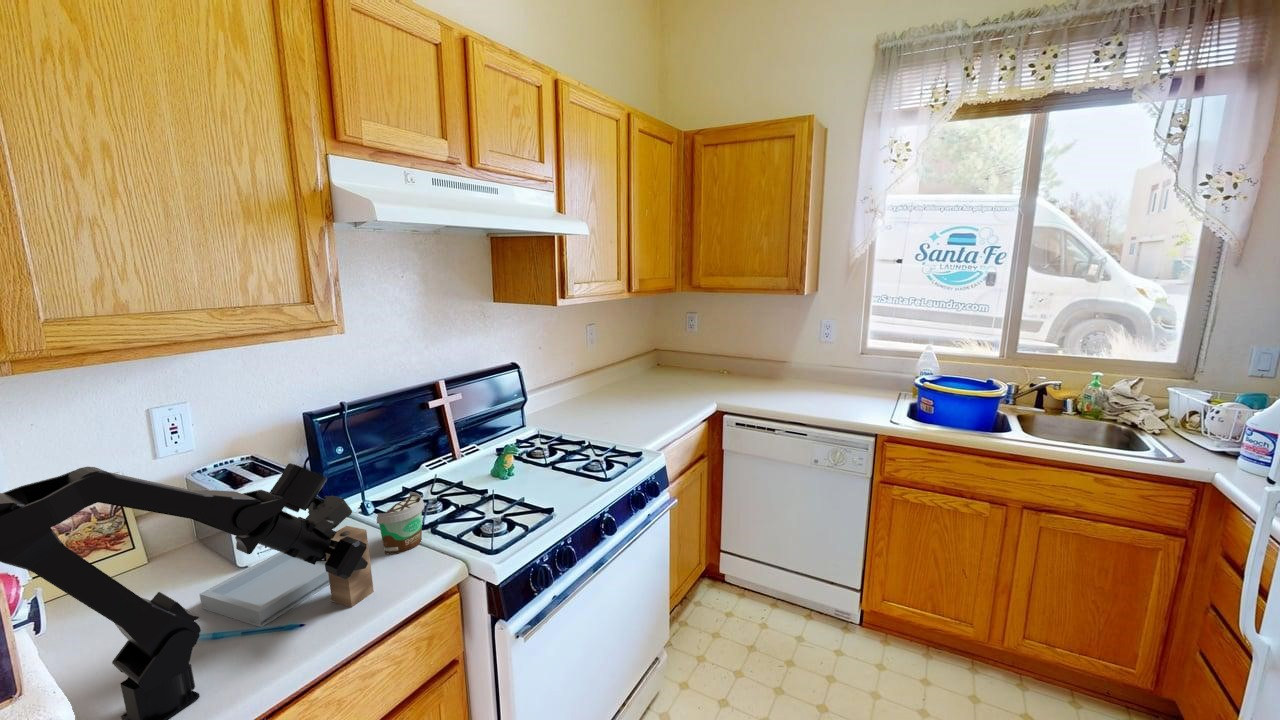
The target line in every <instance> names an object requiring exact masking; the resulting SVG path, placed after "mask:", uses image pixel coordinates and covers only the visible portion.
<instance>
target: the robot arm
mask: <svg viewBox="0 0 1280 720" xmlns="http://www.w3.org/2000/svg"><path fill="white" fill-rule="evenodd" d="M327 481H328V478H327V477H326V476H324V475H322V474H320V473H319V472H315V471H312V470H309V469H306V468H303V467H301V466H299V465H298V464H294V463H291V462H290V463H288V464H286V466H285V468H284V469H283V472H282V474H281V475H280V477H279V478H278V479H277V481H276V482H275V484H274V485H273V487H272V488H271V490H270V491H266V490H263V489H256V490H252V491H248V492H243V493H241V492H238V491H233V490H231V491H230V490H214V489H212V490H191V489H187V488H182V487H180V486H179V487H178V486H174V485H169V484H165V483H160V482H155V481H151V480H145V479H141V478H137V477H133V476H132V477H131V476H128V475H123V474H118V473H115V472H110V471H107V470H104V469H102V468H98V467H95V466H83V467H80V468H77V469H75V470H71V471H69V472H66V473H64V474H61V475H58V476H55V477H51V478H47V479H46V478H45V479H42V480H40V481H39V480H38V481H35V482H32V483H28V484H24V485H21V486H18V487H15V488H13V489H10V490H7V491H3V492H0V563H3V564H6V565H9V566H13V567H16V568H20V569H22V570H26V571H30V572H31V573H33V574H35V575H36V576H38V577H40V578H41V579H43V580H45V581H46V582H48V583H50V584H51V585H52V586H55V587H56V588H57V589H59V590H61V591H62V592H64V593H66V594H67V595H69V596H70V597H72V598H74V599H75V600H77V601H79V602H80V603H82V604H83V605H85V606H87V607H88V608H89V609H92V610H93V611H95V612H96V613H98V614H99V615H101V616H103V617H105V618H106V619H107V620H110V622H112V623H113V624H114V625H115V626H116V628H117V629H118V630H119V631H120V633H121V634H122V635H123V636H124V637H125V638H126V639H127V641H126V642H125V644H124V645H123V646H122V647H121V648H120V650H119V652H118V653H117V654H116V656H115V657H114V658H113V660H112V662H111V664H112V665H113V666H114V667H116V668H117V670H118V671H120V672H121V673H123V674H124V675H126V676H127V678H126V679H125V680H123V681H121V682H120V688H121V693H122V697H123V702H124V707H125V710H126V711H125V712H124V713H123V714H122V715H120V719H121V720H169V719H170V718H172V717H173V716H175V715H176V714H178V713H179V712H181V711H182V710H184V709H185V708H186V707H189V705H192V703H194V702H195V701H197V700H198V699H200V693H199V692H197V691H194V690H195V688H196V684H195V683H196V682H195V678H194V673H193V668H192V667H193V666H192V664H191V663H190V661H191V657H192V653H193V650H194V647H195V645H197V643H198V641H199V638H200V635H201V632H202V629H201V626H200V625H199V624H198V623H197V622H196V620H198V619H200V617H199V615H197V614H195V613H193V612H192V611H190V610H188V609H187V608H186V607H184V606H182V605H181V604H180V603H179V602H178V601H176V600H175V599H173V598H171V597H169V596H168V595H166V594H165V593H163V592H161V591H158V592H157V593H156V594H155V595H154V596H153V598H152V599H150V600H149V599H147V598H144V597H141V596H139V595H137V594H136V593H135V592H133V591H132V590H130V589H129V588H127V587H126V586H124V585H123V584H122V583H120V582H119V581H117V580H116V579H114V578H113V577H111V576H110V575H108V574H107V573H106V572H104V571H102V570H101V569H100V568H98V567H96V566H95V565H94V564H92V563H91V562H89V561H88V560H86V559H85V558H83V557H82V556H81V555H79V554H77V553H76V552H75V551H73V550H71V549H70V548H68V547H67V546H66V545H65V544H64V543H63V542H62V541H61V539H60V538H59V537H58V535H57V534H56V533H55V531H54V530H53V529H52V528H53V527H56V526H57V525H60V524H62V523H63V522H65V521H66V520H68V519H69V518H71V517H73V516H75V515H76V514H78V513H79V512H81V511H82V510H84V509H86V508H88V507H90V506H92V505H95V504H97V503H98V504H106V505H109V506H110V505H112V506H116V507H122V508H128V509H133V510H139V511H146V512H149V513H156V514H161V515H166V516H174V517H178V518H185V519H189V520H193V521H195V522H199V523H201V524H203V525H205V526H208V527H211V528H214V529H216V530H219V531H222V532H225V533H227V534H230V535H233V536H235V538H234V539H235V540H236V545H235V546H236V547H235V549H236V550H238V551H240V552H242V553H244V554H246V555H251V554H252V553H253V552H254V550H255V549H256V548H257V546H258V545H262V546H263V547H266V548H269V549H272V550H275V551H277V552H282V553H284V554H287V555H289V556H292V557H294V558H298V559H301V560H303V561H306V562H308V563H311V564H314V565H315V563H316V562H317V561H326V553H328V554H330V557H329V558H328V560H327V562H326V563H325V569H326V572H329V573H331V574H333V575H336V576H338V577H341V578H344V579H347V578H349V577H350V576H351V574H352V572H353V571H355V570H360V569H365V568H366V567H367V565H368V562H367V561H366V560H365V559H364V558H363V557H362V555H363V553H364V552H365V550H366V548H367V544H365V543H363V542H361V541H359V540H356V539H353V538H350V537H348V536H347V537H344V538H342V539H340V541H339V542H337V541H334V540H331V539H333V538H334V536H335V534H336V533H337V532H336V531H337V530H334V529H336V528H337V527H338V526H339V525H340V524H341V523H342V522H343V521H344V520H346V518H349V517H350V516H351V515H352V513H353V510H352V509H351V507H350V506H349V504H348V503H347V502H346V501H345V499H344V498H341V497H338V496H336V495H325V496H324V498H321V497H318V496H317V495H318V494H319V492H320V491H321V490H322V489H323V487H324V486H325V483H326V482H327ZM284 508H286V509H288V510H291V511H292V512H296V513H299V512H300V510H302V511H307V509H308V511H307V513H308V516H306V517H305V518H304V517H301V516H298V517H297V516H295V515H293V514H291V513H288V512H286V511H283V509H284ZM329 546H332V547H335V549H333V548H330V547H329Z"/></svg>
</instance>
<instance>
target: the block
mask: <svg viewBox="0 0 1280 720" xmlns="http://www.w3.org/2000/svg"><path fill="white" fill-rule="evenodd" d="M335 531H336V532H337V533H336V534H335V536H334V538H333V539H331V540H334V541H337V542H339V541H340V539H342V538H344V537H347V536H348V537H350V538H353V539H356V540H359V541H361V542H363V543H365V544H367V548H366V550H365V552H364V553H363V555H362V557H363V558H364V559H365V560H366V561H367V562H368V565H367V567H366V568H365V569H360V570H355V571H353V572H352V574H351V576H350V577H349V578H347V579H344V578H341V577H338V576H336V575H333V574H331V573H329V572H328V575H329V583H330V584H329V589H330V596H331V597H330V598H331V602H332V603H335V604H339V605H342V606H345V607H349V608H353V607H355V606H356V605H358V604H359V603H360V602H362V601H363V600H364V599H365V598H368V596H370V595H371V594H373V593H374V592H375V591H374V584H373V583H374V582H373V575H372V566H371V559H370V549H369V543H368V541H369V540H368V534H367V533H368V531H367V529H364V528H359V527H354V526H350V525H346V526H343V527H342V528H339V529H338V530H335ZM329 547H330V548H333V549H335V547H332V546H329ZM329 557H330V554H328V553H326V561H327V560H328V558H329Z"/></svg>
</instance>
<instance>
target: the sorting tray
mask: <svg viewBox="0 0 1280 720" xmlns="http://www.w3.org/2000/svg"><path fill="white" fill-rule="evenodd" d="M326 562H327V561H317V562H316V563H315V565H314V564H311V563H308V562H306V561H303V560H301V559H298V558H294V557H292V556H289V555H287V554H284V553H282V552H280V551H278V552H277V553H275V554H274V555H271V556H269V557H268V558H266V559H264V560H262V561H260V562H258V563H256V564H254V565H252V566H250V567H248V568H246V569H245V570H242V571H240V572H238V573H236V574H235V575H233V576H230V578H227V579H226V580H224V581H221V582H220V583H218V584H215V585H214V586H212V587H210V588H208V589H206V590H204V591H202V592H200V593H199V599H200V604H201V609H203V610H205V611H207V612H208V611H209V612H212V613H215V614H218V615H221V616H225V617H228V618H231V619H233V620H234V619H235V620H237V621H241V622H243V623H246V624H250V625H251V626H252V625H253V626H256V627H259V628H262V627H264V626H266V625H268V624H269V623H271V622H272V621H274V620H275V619H278V617H280V616H282V615H283V614H285V613H286V612H288V611H290V610H291V609H292V608H294V607H296V606H297V605H300V604H301V603H302V602H304V601H306V600H307V599H308V598H310V597H311V596H313V595H314V594H316V593H318V592H319V591H321V590H323V589H324V588H326V587H328V586H330V583H329V575H328V572H326V569H325V563H326Z"/></svg>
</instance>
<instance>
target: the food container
mask: <svg viewBox="0 0 1280 720" xmlns="http://www.w3.org/2000/svg"><path fill="white" fill-rule="evenodd" d="M424 509H425V503H424V499H423V498H422V496H421V495H420V494H419V493H417V492H413V491H409V496H407V497H406V498H405V499H403V500H402V501H399V502H397V503H394V504H393V505H392V507H391V508H390V509H388V510H387V511H386V512H384V513H377V514H376V515H377V516H376V524H378V525H379V530H380V535H381V539H382V545H383V550H384V554H385V555H395V554H396V555H397V554H401V553H406V552H408V551H411V550H412V549H415V548H417V547H418V546H419V545H420V544H421V543H422V541H421V540H423V537H422V536H423V535H422V534H423V533H422V532H423V530H422V528H423V526H422V525H423V523H422V522H423V521H422V519H423V518H422V515H423V514H422V513H423V512H422V511H423V510H424ZM420 542H421V543H420Z"/></svg>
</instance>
